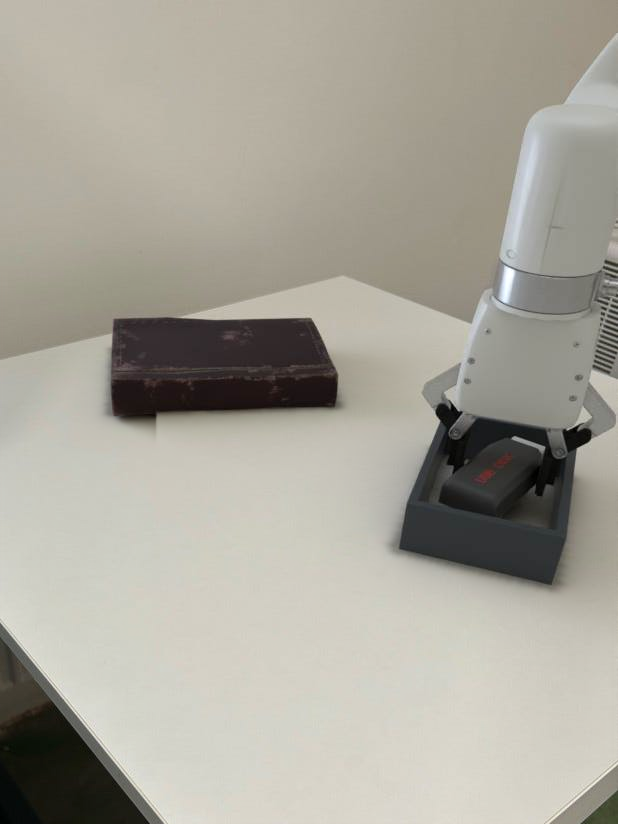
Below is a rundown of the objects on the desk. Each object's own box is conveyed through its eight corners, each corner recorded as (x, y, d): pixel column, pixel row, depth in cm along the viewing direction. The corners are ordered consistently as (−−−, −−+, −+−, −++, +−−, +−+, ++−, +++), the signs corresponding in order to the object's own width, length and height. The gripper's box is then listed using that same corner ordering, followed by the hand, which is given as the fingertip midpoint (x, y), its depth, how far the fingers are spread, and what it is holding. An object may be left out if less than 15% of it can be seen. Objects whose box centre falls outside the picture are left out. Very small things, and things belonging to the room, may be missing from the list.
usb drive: (437, 502, 73) (442, 476, 71) (500, 450, 80) (505, 425, 78) (492, 525, 70) (498, 498, 68) (551, 469, 77) (559, 444, 75)
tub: (436, 456, 86) (445, 408, 82) (563, 482, 82) (578, 432, 78) (397, 556, 72) (406, 503, 68) (548, 592, 68) (566, 538, 65)
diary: (335, 414, 93) (340, 373, 90) (113, 422, 91) (110, 380, 88) (307, 348, 108) (310, 311, 105) (115, 353, 106) (112, 315, 103)
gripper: (665, 284, 64) (601, 479, 75) (440, 257, 69) (410, 443, 80) (667, 318, 58) (598, 523, 69) (423, 286, 64) (393, 481, 75)
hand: (498, 479), depth 75 cm, fingers closed on usb drive, 6 cm apart
